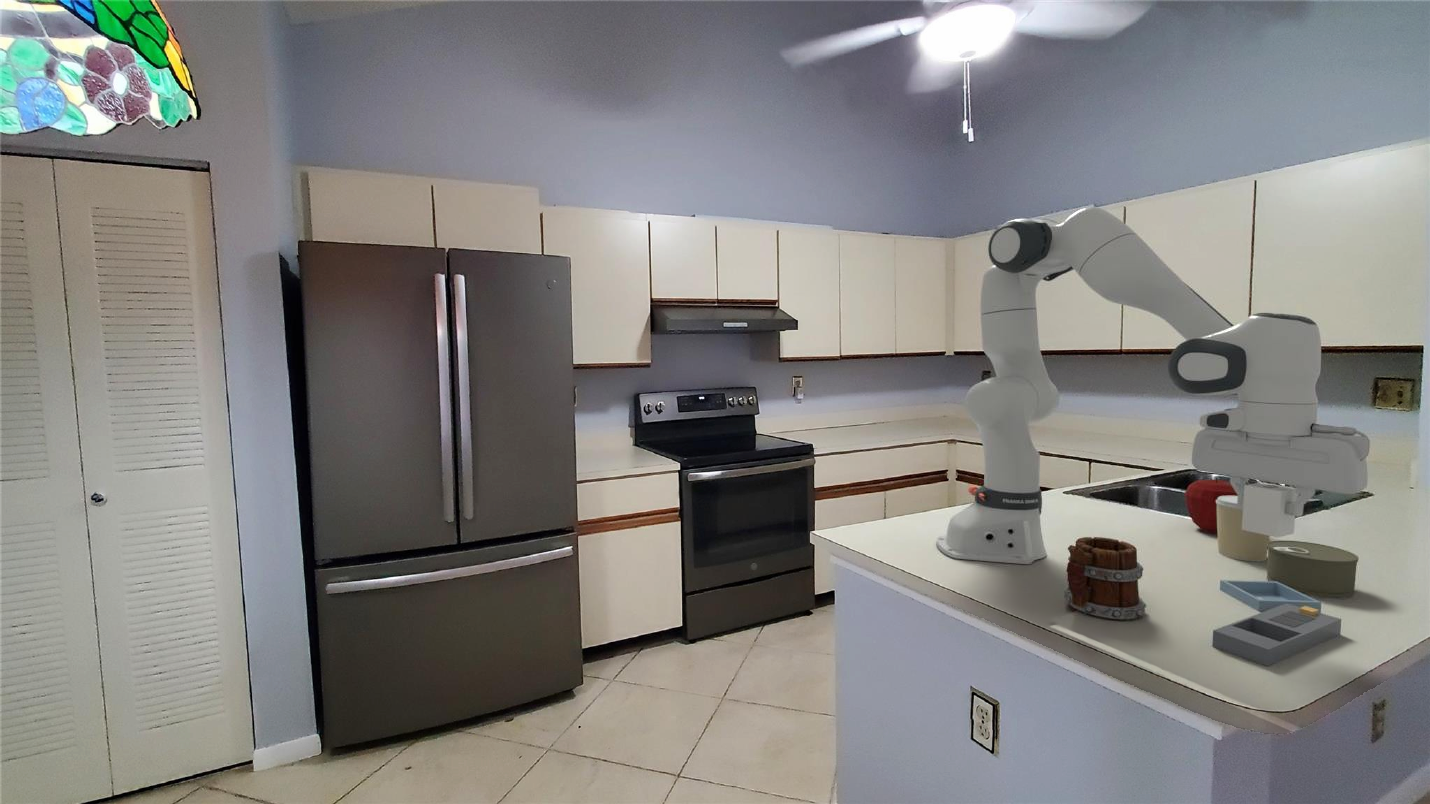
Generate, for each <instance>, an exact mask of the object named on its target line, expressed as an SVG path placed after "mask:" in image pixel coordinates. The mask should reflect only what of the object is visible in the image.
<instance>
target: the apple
mask: <svg viewBox="0 0 1430 804" xmlns="http://www.w3.org/2000/svg"><path fill="white" fill-rule="evenodd" d="M1214 478H1215V479H1199V480H1195V481H1194V482H1192V483H1191V484H1189V485H1188V486H1187V488H1186V490H1185V491H1184V496H1185V498H1184V500H1185V507H1186V509H1187V511H1188V513H1189V516H1190V518H1191V520H1192V523H1194V525H1196V526H1197V527H1198V528H1199V529H1200V530H1201V531H1203V532H1205V533H1209V534H1218V532H1217V504H1216V500H1217V499H1218V497H1220V496H1238V494H1237V493H1236V492H1235V490H1234V488H1233V487H1232V485H1231V483H1230V481H1226V480H1225V481H1224V480H1219V479H1218V478H1217V477H1216V476H1215V477H1214Z"/></svg>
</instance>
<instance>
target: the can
mask: <svg viewBox="0 0 1430 804" xmlns="http://www.w3.org/2000/svg"><path fill="white" fill-rule="evenodd" d="M1267 547H1268V551H1267V568H1266V569H1267V570H1266V571H1267V575H1266V581H1277V582H1279V583H1281V584H1283V585H1285V586H1287V587H1290V588H1292V589H1294V590H1296V591H1298V592H1300V593H1302V594H1304V595H1307V596H1313V597H1318V598H1325V599H1326V598H1327V599H1350V598H1352V597H1354V596H1355V587H1356V574H1357V565H1358V561H1359V557H1358V555H1356V554H1354V553H1353V552H1351V551H1349V550H1346V549H1342V548H1338V547H1334V546H1331V545H1326V544H1325V545H1324V544H1321V543H1316V542H1308V541H1299V540H1273V541H1269V543H1268V544H1267ZM1349 597H1350V598H1349Z"/></svg>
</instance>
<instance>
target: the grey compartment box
mask: <svg viewBox="0 0 1430 804" xmlns="http://www.w3.org/2000/svg"><path fill="white" fill-rule="evenodd" d="M1341 629H1342V618H1338V617H1335V616H1332V615H1330V614H1329V615H1328V614H1325V613H1322V612H1321V613H1319V610H1318V609H1314V608H1311V607H1307V606H1304V607H1298V606H1294V605H1291V604H1287V603H1286V604H1284V605H1281V606H1278V607H1275V608H1273V609H1270V610H1267V611H1265V612H1259V613H1257V614H1255V615H1252V616H1249V617H1246V618H1243V619H1240V620H1237V621H1235V622H1232V623H1230V624H1227V625H1224V626H1222V627H1221V626H1220V627H1219V628H1216V629H1213V631H1212V644H1211V646H1212V647H1214V648H1216V649H1219V650H1223V651H1225V652H1227V653H1230V654H1232V655H1235V656H1238V657H1240V658H1243V659H1246V660H1249V661H1252V662H1255V663H1257V664H1260V665H1263V666H1265V667H1269V666H1273V665H1276V664H1277V663H1280V662H1282V661H1284V660H1286V659H1288V658H1290V657H1294V656H1295V655H1297V654H1300V653H1302V652H1305V651H1307V650H1309V649H1311V648H1313V647H1315V646H1318V645H1320V644H1322V643H1325V642H1327V641H1329V640H1332V639H1334V638H1335V637H1339V636H1340V635H1341V631H1342V630H1341Z"/></svg>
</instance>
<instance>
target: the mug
mask: <svg viewBox="0 0 1430 804" xmlns="http://www.w3.org/2000/svg"><path fill="white" fill-rule="evenodd" d="M1067 551H1068V552H1069V556H1068V558H1067V559H1068V560H1067V561H1068V562H1067V566H1066V573H1067V574H1066V575H1067V576H1066V578H1067V583H1068V584H1067V586H1068V587H1067V588H1065V589H1064V590H1063V593H1064V599H1065V602H1066V603H1067V606H1068V607H1067V608H1068V609H1069V610H1070V611H1072V613H1075V612H1080V613H1082V614H1086V615H1087V616H1090V617H1094V618H1097V619H1103V620H1108V621H1119V622H1120V621H1125V622H1126V621H1134V620H1137V619H1139V618H1140V617H1143V616H1144V614H1145V612H1146V607H1147V604H1146V603H1145V601H1143V599H1142V598H1141V597H1140V595H1139V594H1140V593H1139V580H1140V579H1142V577H1143V571H1144V567H1143V566H1142V564H1140V563H1139V562H1138V551H1137V548H1136V546H1134V545H1133V544H1131V543H1129V542H1127V541H1123V540H1122V541H1119V539H1114V538H1110V537H1103V536H1102V537H1101V536H1093V537H1091V536H1085V537H1080V538H1078V539H1076V541H1075V545H1072V544H1070V545H1069V546H1068V547H1067Z"/></svg>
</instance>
